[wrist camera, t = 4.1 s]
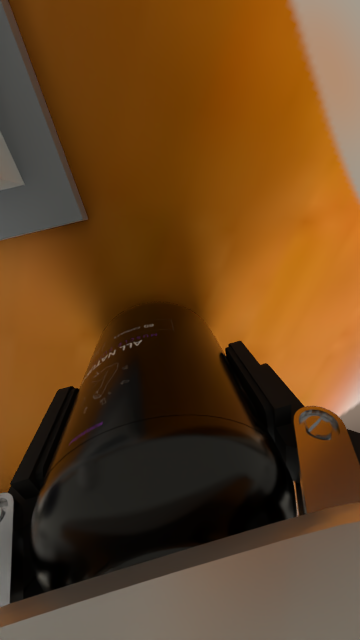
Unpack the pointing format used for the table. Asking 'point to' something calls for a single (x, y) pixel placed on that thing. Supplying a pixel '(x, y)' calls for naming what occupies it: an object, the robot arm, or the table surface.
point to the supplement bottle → (154, 453)
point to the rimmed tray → (29, 147)
